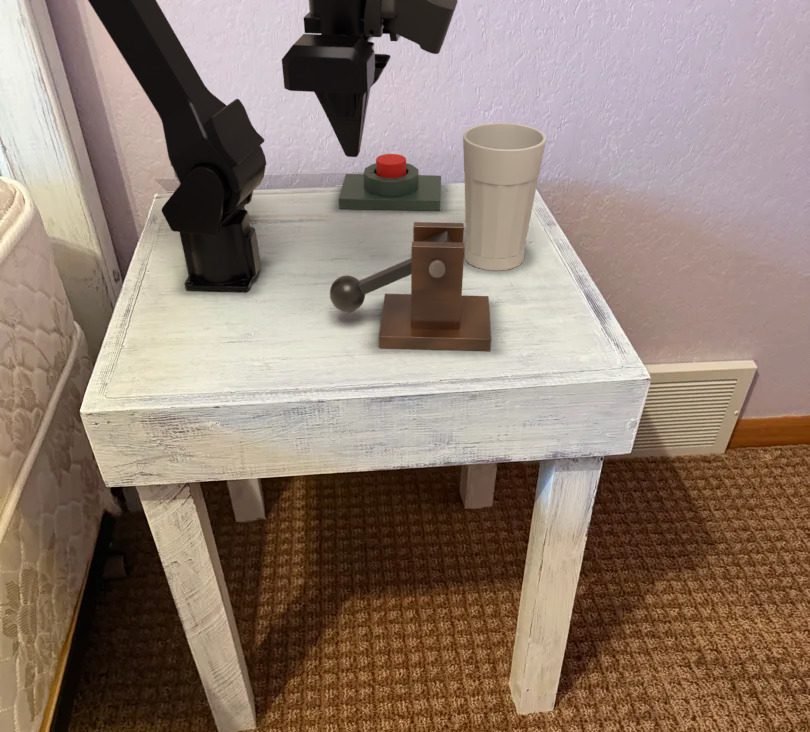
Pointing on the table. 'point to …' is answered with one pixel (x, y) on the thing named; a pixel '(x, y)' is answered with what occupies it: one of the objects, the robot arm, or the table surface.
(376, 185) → the button block
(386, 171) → the button
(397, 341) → the bracket
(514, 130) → the cup
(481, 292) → the table surface
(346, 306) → the lever
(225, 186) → the robot arm
